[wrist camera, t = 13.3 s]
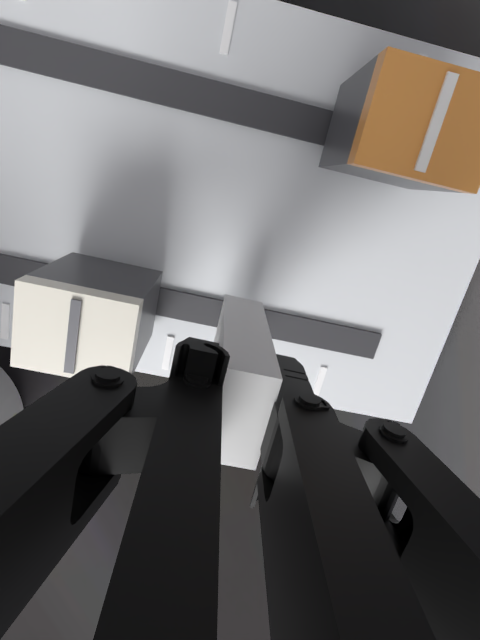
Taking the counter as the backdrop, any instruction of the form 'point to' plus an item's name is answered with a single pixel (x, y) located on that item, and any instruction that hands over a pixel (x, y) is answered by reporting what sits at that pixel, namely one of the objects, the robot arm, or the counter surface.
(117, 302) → the fader cream
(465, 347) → the counter surface
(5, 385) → the cup
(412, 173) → the fader orange
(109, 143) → the panel
